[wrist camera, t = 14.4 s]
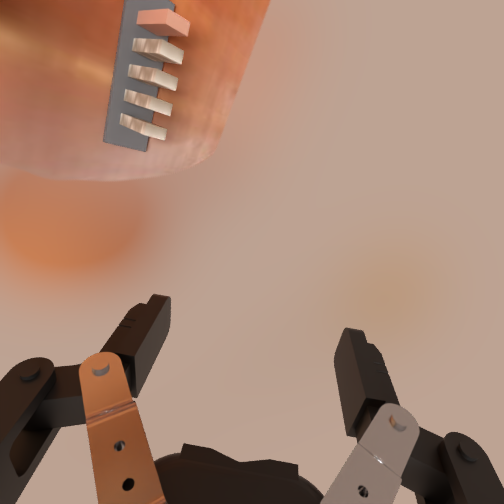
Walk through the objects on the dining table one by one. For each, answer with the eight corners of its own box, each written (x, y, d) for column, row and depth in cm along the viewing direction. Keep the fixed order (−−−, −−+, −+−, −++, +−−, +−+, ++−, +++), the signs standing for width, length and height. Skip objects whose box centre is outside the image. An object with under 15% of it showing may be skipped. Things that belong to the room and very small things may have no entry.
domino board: (102, 141, 70) (104, 142, 69) (128, -25, 60) (130, -26, 59) (143, 150, 77) (145, 151, 76) (172, 4, 67) (174, 4, 66)
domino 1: (152, 60, 68) (181, 64, 61) (131, 50, 65) (159, 53, 58) (154, 48, 68) (184, 51, 60) (133, 38, 64) (162, 39, 57)
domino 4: (139, 129, 73) (164, 140, 66) (119, 124, 69) (143, 134, 62) (141, 119, 72) (167, 129, 65) (121, 112, 69) (146, 122, 61)
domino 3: (143, 107, 71) (170, 116, 64) (123, 100, 68) (149, 108, 61) (145, 96, 71) (172, 104, 63) (125, 89, 67) (151, 96, 60)
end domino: (157, 35, 67) (187, 36, 60) (136, 24, 63) (165, 23, 56) (159, 23, 66) (190, 22, 59) (138, 10, 62) (168, 8, 55)
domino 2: (148, 84, 70) (175, 91, 63) (127, 76, 66) (154, 81, 59) (150, 73, 69) (178, 78, 62) (129, 64, 66) (157, 68, 58)
